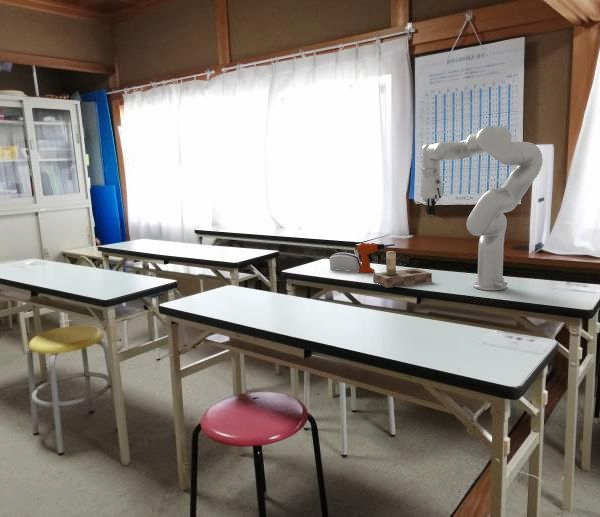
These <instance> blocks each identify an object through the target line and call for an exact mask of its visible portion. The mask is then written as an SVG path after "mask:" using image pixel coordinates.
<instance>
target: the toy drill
mask: <svg viewBox="0 0 600 517" xmlns="http://www.w3.org/2000/svg"><path fill="white" fill-rule="evenodd" d="M395 246H396V245H395V243H390V244H384V243H375V242H371V243H369V242H368V243H366V242H361V243H360V244H359V245H358V246H357V248H356V253H358V254H359V255H360V260H361V268H359V272H358V273H359V274H373V273H372V272H374V273H376V272H375V269H374V268H372V266H371V263H372V262H373V261H374V258H373V257H372V255H371V254H373V253H375V252H377V251H380V250H383V249H385V248H388V247H395Z"/></svg>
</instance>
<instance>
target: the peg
mask: <svg viewBox="0 0 600 517" xmlns="http://www.w3.org/2000/svg"><path fill="white" fill-rule="evenodd" d="M396 253H397V252H396V251H394V250H390V251H389V250H388V251H386V253H385V255H386V258H385V259H386V263H385V265H386V268H385V269H386V271H385V272H386V275H387V276H396V271H397V259H396V258H397V257H396V256H397V254H396Z"/></svg>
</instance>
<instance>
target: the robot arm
mask: <svg viewBox="0 0 600 517" xmlns="http://www.w3.org/2000/svg"><path fill="white" fill-rule="evenodd" d="M512 138H513V136H512V132H511V130H510V128H507V127H505V126H503V125H502V126H501V125H498V126H497V125H496V126H495V125H487V126H484V127H483V128H481V129H480V130H479V131H477V132H474V133H470V134H469V135H468V136H467V139H465V140H463V139H462V140H460V141H455V142H452V141H451V142H449V141H447V142H437V143H428V144H424V145H423V146H422V147H421V153H422V154H421V158H422V159H421V169H422V170H421V174H422V175H421V183H420V185H421V186H420V196H421V198H422V201H423V202H425V206H426V215H427V216H428V215H430V216H432V215H435V214H436V205H437V203H438V202H440V199H441V198H443V182H442V178H441V172H440V171H441V170H440V169H441V168H440V167H441V163H440V162H441V161H457V160H462V159H466V158H471V157H473V156H476V155H479V154H483V153H487V154H488V155H489V156H490V157H492V158H493V159H495V160H497V161H498V162H499V163H501V164H503V165H505V166H509V167H510V166H512V167H513V166H516V167H515V169H514V170H513V171H511V173H510V174H509V175H508V176H507V178H506V180H505V181H504V183H502V185H501V186H500V187H499V188H493V189H489V190H487V191H485V192H484V193H483V194H482V195H481V197H480V198H479V199H478V201H477V203H476V204H475V205H474V207H473V209H472V210H471V211H470V214H469V216H467V219H466V229H467V231H468V232H469V234H471V235H472V236H476V237H479V240H478V252H477V253H478V254H477V259H478V260H477V282H473V287H474V288H475V289H477V290H481V291H489V292H490V291H502V290H505V289H507V286H508V284H509V283H508V282H506V281H505V278H504V277H503V273H504V245H505V244H504V243H505V234H506V229H507V225H508V223H507V222H508V221H507V217H506V215H505V214H506V213H509V212H511V211H513V210H515V209H516V207H517V206H518V204H519V202H520V201H521V200H522V198H523V196H525V194H526V192H528V190H529V188H530V186H531V185H532V184H533V183H534V181H535V179H537V177H538V175H539V174H540V172H541V169H542V166H543V160H544V159H543V154H542V151H541V149H540V147H539V146H538V145H536V144H535V143H533V142H529V141H512ZM504 213H505V214H504Z"/></svg>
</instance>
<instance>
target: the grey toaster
mask: <svg viewBox="0 0 600 517" xmlns="http://www.w3.org/2000/svg"><path fill="white" fill-rule="evenodd" d="M361 263H362V261H361V258H360V256H359V255H358V254H354V253H350V252H336V253H334V254H331V256H330V257H329V269H330V270H333V269H338V270H337V271H345V270H350V271H349V272H357V271H359V268H361Z"/></svg>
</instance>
